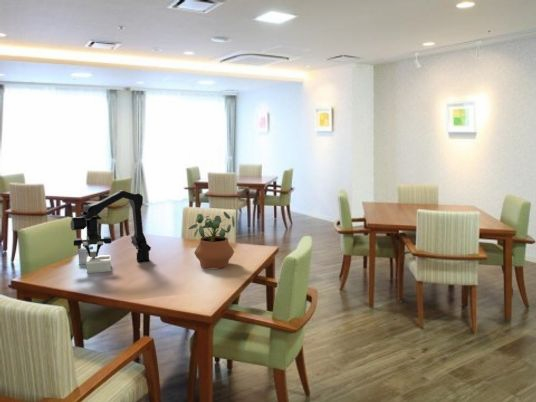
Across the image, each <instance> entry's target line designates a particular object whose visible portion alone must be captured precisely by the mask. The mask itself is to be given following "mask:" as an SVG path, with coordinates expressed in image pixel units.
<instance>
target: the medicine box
mask: <svg viewBox="0 0 536 402" xmlns="http://www.w3.org/2000/svg"><path fill="white" fill-rule="evenodd" d="M89 248H90V249H94V247H93V246H91V245H89ZM77 251H78V252H77V253H78V264H79V265H86V261H87V256H89V254H88V251H87V249H86V248H85V247H81V248H79V249H77Z"/></svg>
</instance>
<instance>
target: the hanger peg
mask: <svg viewBox="0 0 536 402" xmlns="http://www.w3.org/2000/svg"><path fill="white" fill-rule="evenodd" d="M96 252H97V248H93V249H90V257H92V259H95V257H96Z"/></svg>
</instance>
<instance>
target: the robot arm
mask: <svg viewBox="0 0 536 402" xmlns="http://www.w3.org/2000/svg"><path fill="white" fill-rule="evenodd" d="M122 199H126V200H128V202H129V205H130V207H131V209H132V218H133V220H132V221H133V229H134V230H133V232H134V233H133V235H131V236H130V237H131V238H130V239H131V244H132V245H133V246H134V248H135V249H136V251H137V252H136V261H137V262H138V263H142V262H143V263H144V262H151V261H150V252H151V250H152V247H151V246H150V245H149V244H148V242H147V239H146V236H145V234H144V229H143V219H142V217H143V216H142V207H143V202H144V201H143V200H144V197H143V195H142V194H140V193H138V192H129V191H125V190H123V189H119V190H118V191H116V192H114V193H112V194H111V195H109V196H107V197H105V198H103V199H101V200H99V201H96V202H93V203H92V202H91V203H88V204H86V205H85V206H84V211H82V212H81V213H82V214H81V215H80V216H77V217H76V216H72V217H71V220H70V229H71V231H79V230H80V231H81V230H85V228H86V239H83V238H82V237H77V238H74V239H73V246H74V247H77V246H79V247H80V246H81V245H82V248H84V247H85V248H86V249H87V251H88V254H89V256H90V248H89V246H91V245H96V257H97V256H99V255H98V254H99V253H100V252H99V251H100V249H101V248H102V247H101V246H103V245H104V244H105V245H107V244H109V245H110V244H112V237H111V236H103V238H102V234H99V222H98V221H100V220H102V217H101V216H100V215H99V214H100V213H101V212H102V211H103V210H104V209H106V208H107V207H109V206H110V205H112V204H114V203H116V202H118V201H119V200H122Z"/></svg>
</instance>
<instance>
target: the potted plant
mask: <svg viewBox="0 0 536 402" xmlns="http://www.w3.org/2000/svg"><path fill="white" fill-rule="evenodd" d="M223 215H224V216H225V219H223V220H222V218H221V217H222V216H221V215H215V217H214V218H213V219H211V218H210V215H207V216H205V218H206V219H205V221H204V215H203V214H202V213H198V214H197V215H196V216H197V217H196V220H195V224H193V225H190V226H189V228H188V230H191V229H196V230H195V232H194V234H193V238H195V237H196V236H197V234H198V233H199V235H200V237H201V238H200V239H199V240H200V241H199V244H198V245H197V247H196V248H195V250H194V251H193V253H194V256H195V257H196V258H197V259H198V261H199V264H200V267H201V268H202V269H207V268H220V269H223V268H222V267H224V268H226V267H225V266H227V265H228V266H229V262H230V260H231V259H232V257H233V255H234V253H235V250H234V248H233V246H232V245H231V244H230V243H229V238H228V237H227V236H226V233H227V234H229V233H230V232H231V228H232V227H233V228H235V217H234V215H232V217H230V215H229V213H227V212H226V211H223ZM226 219H228V220H231V223H232V225H231V224H228V225H227V227H226V229H225V228H223V226H225V224H224V225H222V227H221V225H220V224H221V223H222V222H223V221H225V220H226ZM203 221H204V225H203V226H202V225H199V227H198V224H202V223H203ZM197 227H198V228H197ZM205 228H206V229H207V230H208V231H209V232H210V234H211V235H210V234H208V235H205V234H207V232H205ZM209 228H210V229H211V230H212V231H211V230H210V229H209ZM218 231H219V233H218ZM228 266H227V267H228Z"/></svg>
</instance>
